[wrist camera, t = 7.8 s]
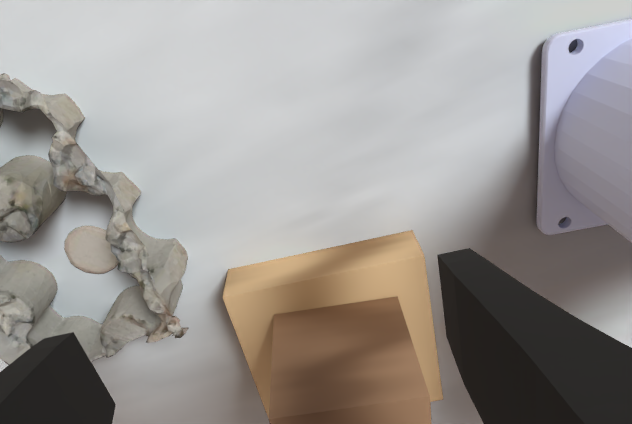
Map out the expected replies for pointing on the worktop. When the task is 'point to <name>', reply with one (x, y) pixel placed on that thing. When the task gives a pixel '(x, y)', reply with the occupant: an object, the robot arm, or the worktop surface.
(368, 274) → the board
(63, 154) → the egg carton
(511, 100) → the worktop surface
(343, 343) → the walnut cube
